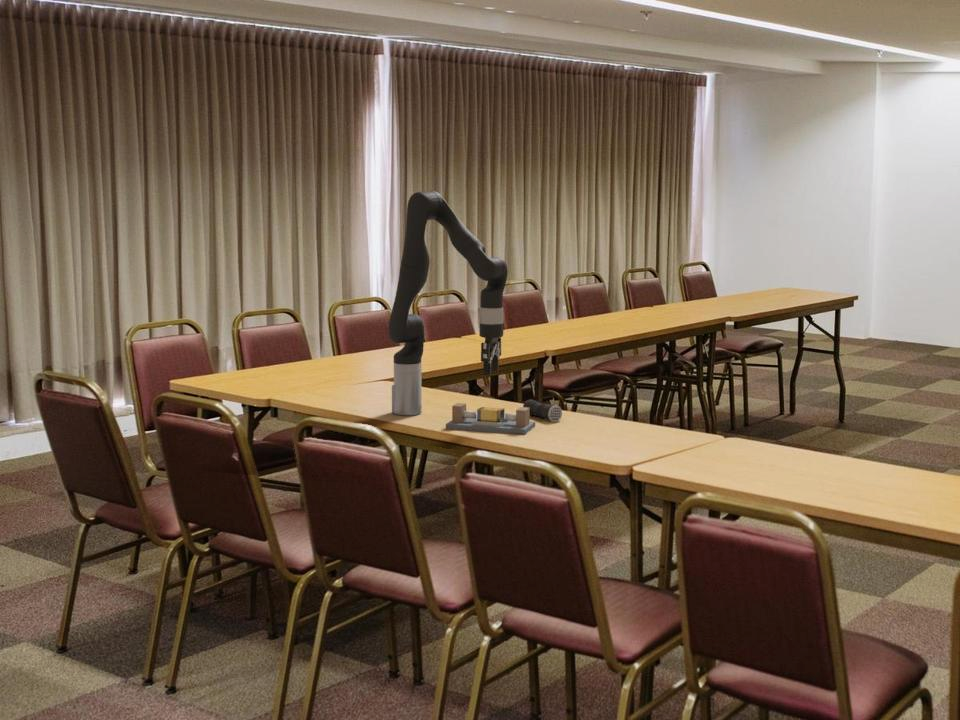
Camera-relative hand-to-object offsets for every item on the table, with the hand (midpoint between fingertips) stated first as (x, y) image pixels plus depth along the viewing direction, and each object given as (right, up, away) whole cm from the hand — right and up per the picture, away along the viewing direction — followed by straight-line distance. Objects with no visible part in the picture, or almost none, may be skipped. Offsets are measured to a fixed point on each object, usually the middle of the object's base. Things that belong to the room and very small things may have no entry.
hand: (491, 372), depth 363 cm
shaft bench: (0, -17, +3) cm, 18 cm away
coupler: (0, -16, +2) cm, 16 cm away
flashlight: (+17, -15, +18) cm, 29 cm away
